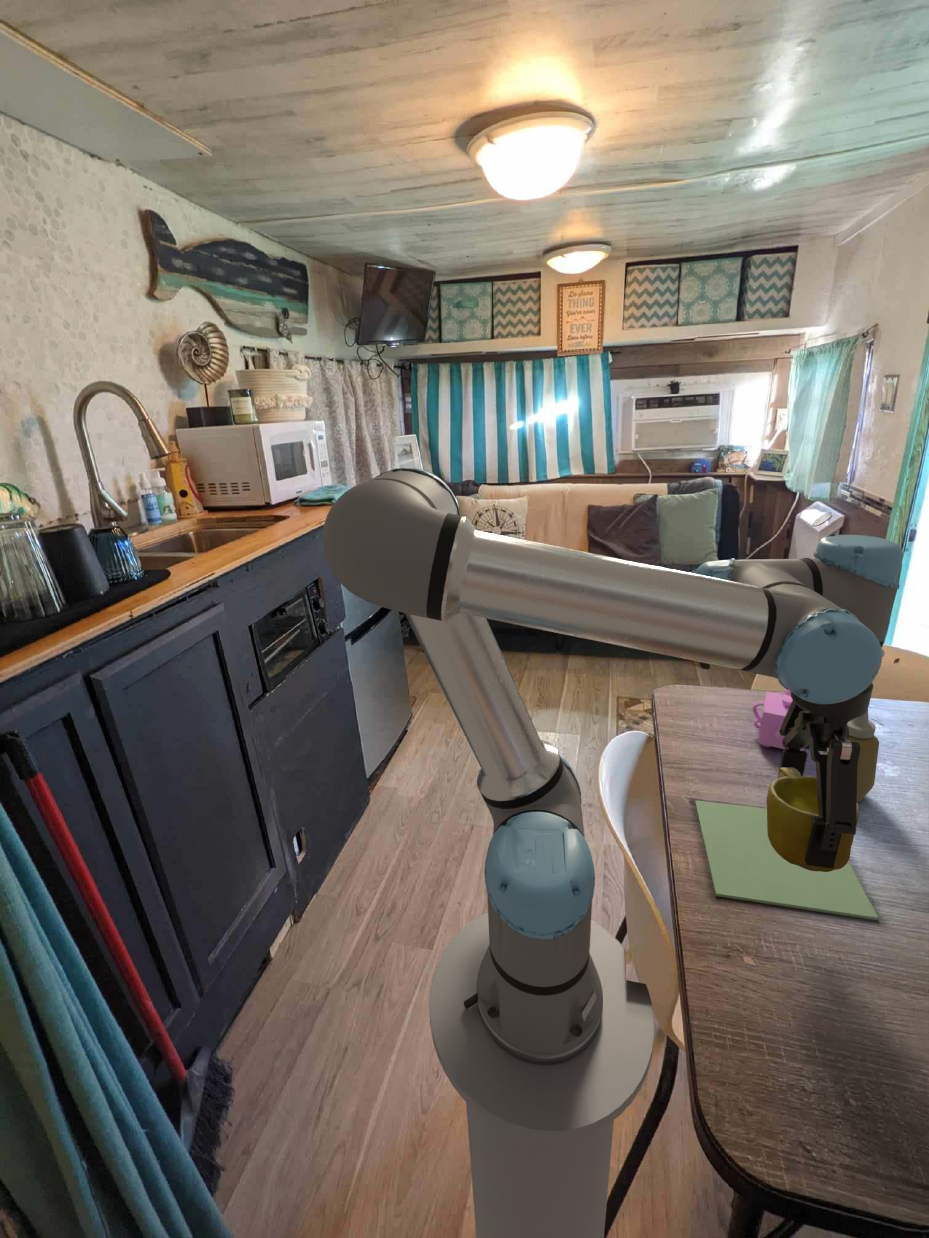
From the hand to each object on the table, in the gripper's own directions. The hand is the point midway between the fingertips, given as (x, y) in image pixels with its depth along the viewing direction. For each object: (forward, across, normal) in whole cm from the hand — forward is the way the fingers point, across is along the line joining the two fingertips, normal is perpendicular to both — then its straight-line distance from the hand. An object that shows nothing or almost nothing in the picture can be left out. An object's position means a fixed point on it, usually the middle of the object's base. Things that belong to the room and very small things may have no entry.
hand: (801, 825), depth 69 cm
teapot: (+15, +43, -11) cm, 47 cm away
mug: (+2, 0, 0) cm, 2 cm away
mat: (+15, +11, -1) cm, 18 cm away
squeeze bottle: (+15, +28, -16) cm, 36 cm away
